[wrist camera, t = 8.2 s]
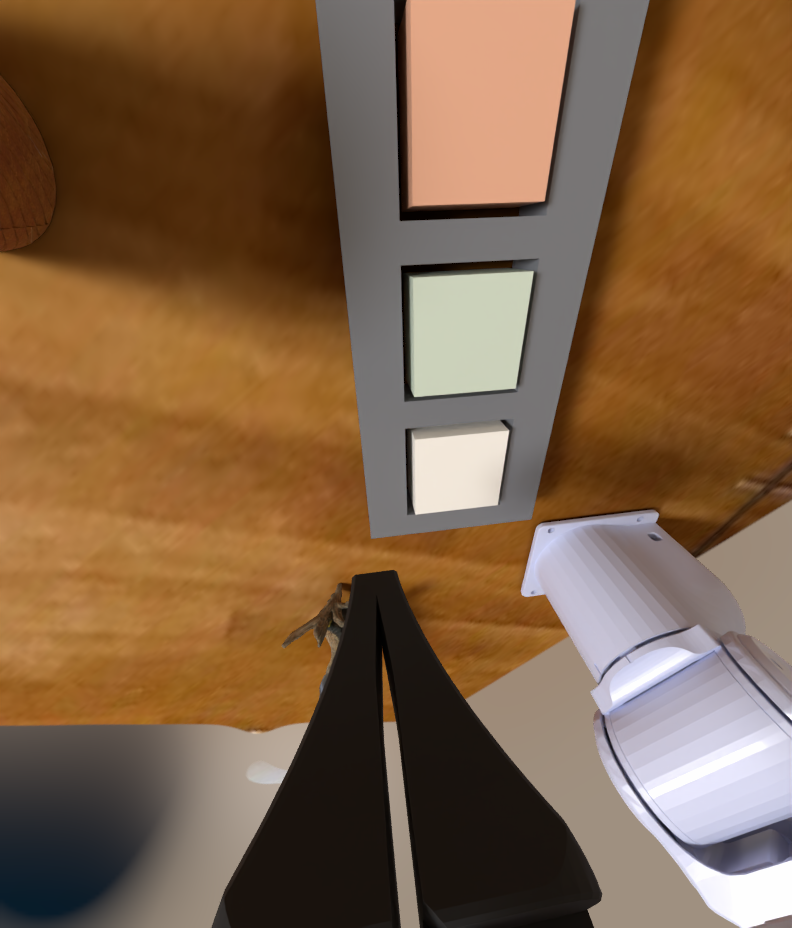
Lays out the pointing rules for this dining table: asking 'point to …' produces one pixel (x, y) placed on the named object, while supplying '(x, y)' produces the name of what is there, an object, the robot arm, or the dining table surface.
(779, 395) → the dining table surface
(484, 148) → the terracotta key
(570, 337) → the key frame
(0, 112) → the disposable coffee cup
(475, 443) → the ivory key
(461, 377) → the sage key
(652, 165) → the dining table surface
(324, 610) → the eagle figurine
